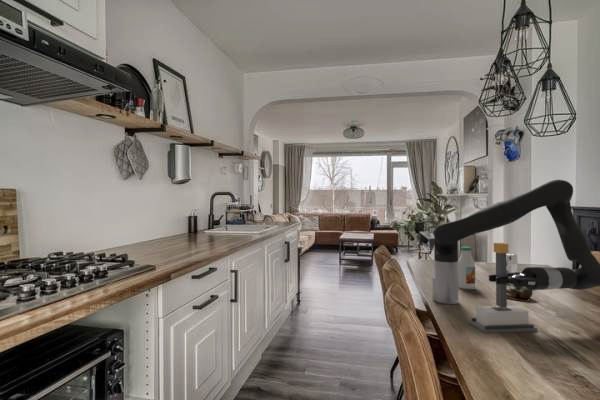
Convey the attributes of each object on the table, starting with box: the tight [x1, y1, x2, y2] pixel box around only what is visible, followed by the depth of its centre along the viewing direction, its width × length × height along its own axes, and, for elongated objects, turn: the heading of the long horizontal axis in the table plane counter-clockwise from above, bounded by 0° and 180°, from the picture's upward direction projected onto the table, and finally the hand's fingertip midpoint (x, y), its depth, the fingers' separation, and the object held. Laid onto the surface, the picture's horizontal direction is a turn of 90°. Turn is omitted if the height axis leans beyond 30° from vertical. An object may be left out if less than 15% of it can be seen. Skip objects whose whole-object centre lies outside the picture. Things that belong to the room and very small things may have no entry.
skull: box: [507, 285, 533, 302], centre depth 150 cm, size 12×10×10 cm
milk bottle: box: [458, 246, 476, 290], centre depth 168 cm, size 8×8×20 cm
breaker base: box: [468, 305, 538, 334], centre depth 115 cm, size 18×9×6 cm, turn 94°
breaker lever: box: [493, 242, 509, 307], centre depth 115 cm, size 3×3×21 cm
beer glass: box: [506, 253, 518, 273], centre depth 176 cm, size 7×7×15 cm
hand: (493, 279), depth 115 cm, fingers open, 3 cm apart
